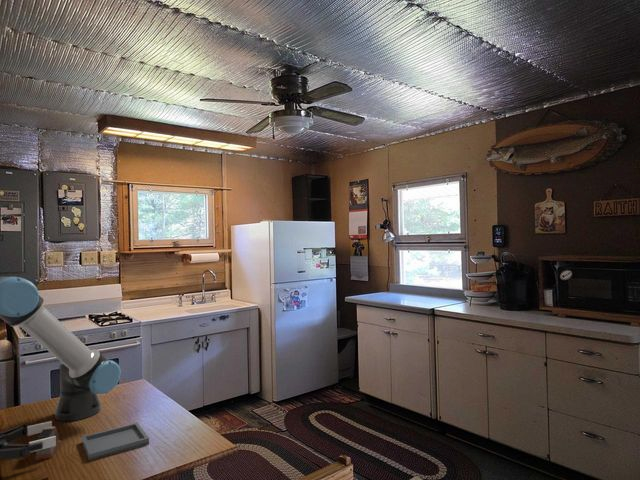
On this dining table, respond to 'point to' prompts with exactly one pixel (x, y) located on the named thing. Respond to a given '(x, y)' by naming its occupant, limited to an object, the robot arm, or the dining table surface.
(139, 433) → the dock tray
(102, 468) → the dining table surface
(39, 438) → the electronic device
